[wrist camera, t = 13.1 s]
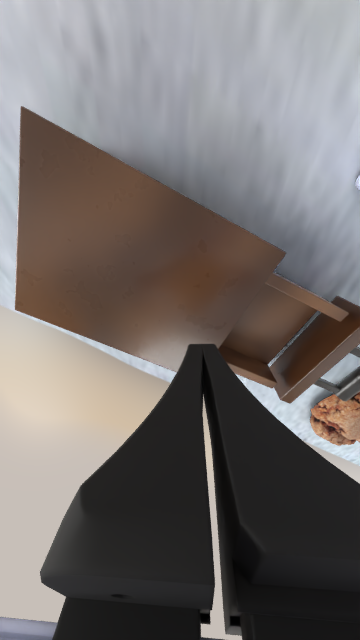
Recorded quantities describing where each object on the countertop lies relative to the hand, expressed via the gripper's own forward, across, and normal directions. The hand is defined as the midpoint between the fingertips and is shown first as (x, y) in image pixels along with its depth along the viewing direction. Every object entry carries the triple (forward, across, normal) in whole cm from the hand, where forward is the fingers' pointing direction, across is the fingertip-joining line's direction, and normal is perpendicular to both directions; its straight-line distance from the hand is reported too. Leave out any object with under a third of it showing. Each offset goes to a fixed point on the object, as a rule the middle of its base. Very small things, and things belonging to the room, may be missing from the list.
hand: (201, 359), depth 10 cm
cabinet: (+9, +4, -3) cm, 11 cm away
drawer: (+9, -7, +3) cm, 11 cm away
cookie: (+10, -19, +16) cm, 27 cm away
